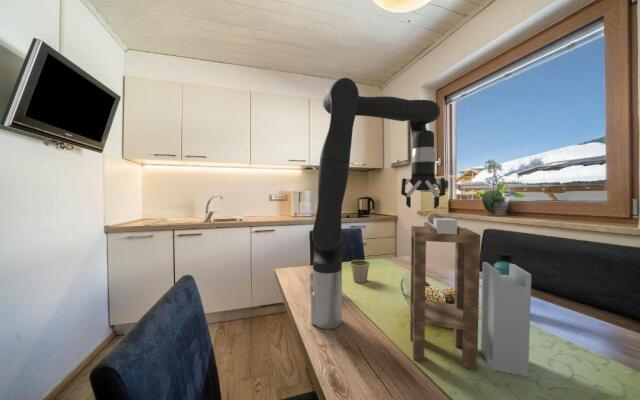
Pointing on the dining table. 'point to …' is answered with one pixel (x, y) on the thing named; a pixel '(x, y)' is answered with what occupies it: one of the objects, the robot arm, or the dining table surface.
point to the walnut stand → (465, 298)
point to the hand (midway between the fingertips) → (422, 207)
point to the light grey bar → (443, 224)
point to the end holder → (506, 319)
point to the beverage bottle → (503, 263)
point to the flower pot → (360, 270)
